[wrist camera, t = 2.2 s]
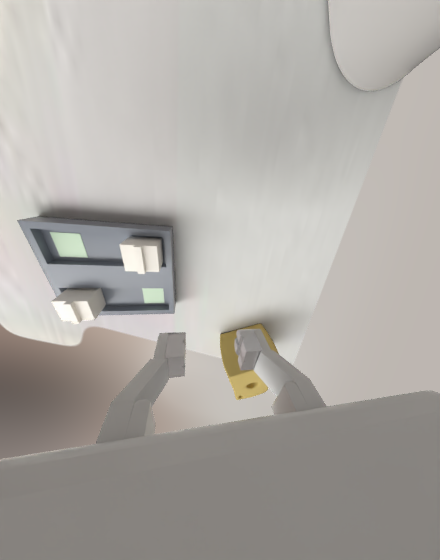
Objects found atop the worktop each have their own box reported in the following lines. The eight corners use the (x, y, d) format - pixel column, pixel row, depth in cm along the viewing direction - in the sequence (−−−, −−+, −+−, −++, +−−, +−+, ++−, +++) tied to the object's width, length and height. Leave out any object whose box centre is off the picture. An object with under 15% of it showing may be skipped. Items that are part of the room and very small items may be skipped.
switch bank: (37, 216, 19) (17, 220, 17) (172, 226, 22) (170, 231, 20) (77, 304, 26) (66, 316, 24) (175, 303, 29) (174, 313, 27)
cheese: (264, 347, 41) (283, 389, 32) (225, 358, 41) (233, 403, 32) (262, 320, 35) (284, 362, 27) (217, 332, 35) (225, 378, 27)
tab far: (69, 286, 23) (47, 304, 19) (100, 286, 23) (84, 304, 20) (77, 304, 24) (58, 324, 21) (106, 304, 25) (92, 323, 22)
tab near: (129, 236, 20) (117, 246, 17) (161, 238, 21) (155, 248, 18) (134, 260, 22) (123, 273, 19) (163, 261, 23) (158, 274, 19)
